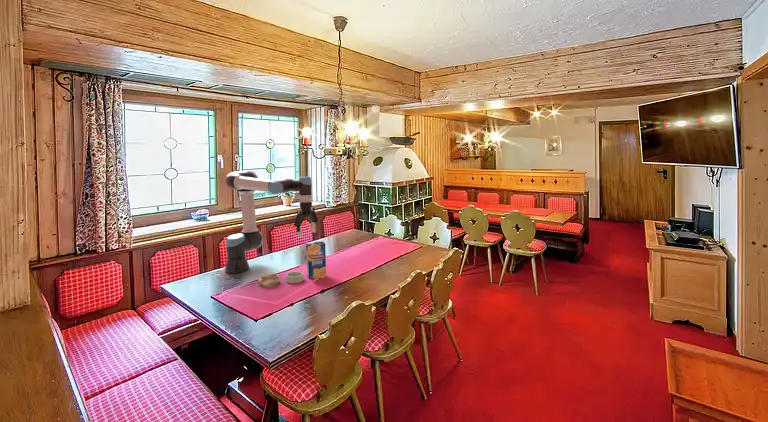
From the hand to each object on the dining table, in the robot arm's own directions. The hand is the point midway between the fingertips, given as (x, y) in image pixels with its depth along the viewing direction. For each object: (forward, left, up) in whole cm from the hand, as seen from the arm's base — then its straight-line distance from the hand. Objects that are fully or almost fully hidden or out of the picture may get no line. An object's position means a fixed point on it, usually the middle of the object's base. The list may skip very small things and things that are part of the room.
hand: (306, 234), depth 246 cm
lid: (-11, -25, -25) cm, 37 cm away
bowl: (0, -15, -26) cm, 30 cm away
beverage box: (+8, -3, -26) cm, 28 cm away
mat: (-11, -25, -26) cm, 38 cm away
